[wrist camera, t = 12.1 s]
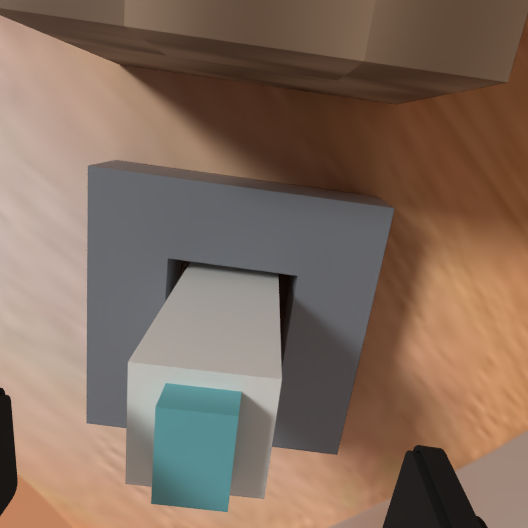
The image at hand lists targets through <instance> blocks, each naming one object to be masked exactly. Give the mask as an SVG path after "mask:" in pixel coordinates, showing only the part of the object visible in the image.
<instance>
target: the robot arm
mask: <svg viewBox="0 0 528 528" xmlns="http://www.w3.org/2000/svg"><path fill="white" fill-rule="evenodd" d="M16 489H17V469H16V456H15V444H14V432H13V420H12V407H11V399H10V397H9V396H8V395H5V391H4V390H3V388H0V516H1V514H2V513H3V511H4V510H5V508H6V507H7V506H8V504H9V503H10V501H11V500H12V498H13V496H14V494H15V492H16ZM383 528H488V527H487V526H486V524H485V523H484V521H483V520H482V519H481V518H480V517H478V516H476V515H475V513H474V511H473V509H472V507H471V504H470V503H469V500H468V498H467V496H466V494H465V492H464V490H463V488H462V486H461V484H460V482H459V480H458V478H457V476H456V474H455V471H454V469H453V467H452V465H451V463H450V461H449V459H448V457H447V455H446V453H445V452H444V450H443V449H441V448H435V447H427V446H420V445H416V446H415V447H414V449H413V451H407V452H406V455H405V457H404V461H403V464H402V467H401V470H400V473H399V477H398V480H397V483H396V486H395V489H394V493H393V496H392V499H391V502H390V505H389V509H388V512H387V515H386V518H385V521H384V525H383Z"/></svg>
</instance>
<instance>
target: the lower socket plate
mask: <svg viewBox="0 0 528 528" xmlns="http://www.w3.org/2000/svg"><path fill="white" fill-rule="evenodd" d="M394 209H395V208H393V207H392V206H390V205H389V204H387V203H386V202H384V201H383V200H381V199H380V198H378V197H377V196H370V195H362V194H355V193H348V192H341V191H334V190H327V189H319V188H312V187H305V186H298V185H291V184H283V183H276V182H269V181H262V180H255V179H248V178H240V177H233V176H226V175H219V174H212V173H205V172H197V171H190V170H183V169H176V168H169V167H162V166H154V165H147V164H140V163H133V162H126V161H119V160H114V161H109V162H104V163H99V164H94V165H89V166H88V258H87V423H90V424H98V425H106V426H113V427H121V428H127V380H128V361H129V359H130V358H131V356H132V355H133V353H134V351H135V350H136V348H137V347H138V345H139V343H140V342H141V340H142V339H143V337H144V335H145V334H146V332H147V331H148V329H149V327H150V326H151V324H152V323H153V321H154V319H155V318H156V316H157V315H158V313H159V311H160V310H161V308H162V307H163V305H164V303H165V302H166V300H167V299H168V297H169V295H170V294H171V292H172V291H173V289H174V287H175V286H176V284H177V283H178V281H179V279H180V270H181V260H184V261H192V262H199V263H207V264H214V265H221V266H229V267H236V268H244V269H251V270H258V271H266V272H273V273H281V274H288V275H291V279H290V285H289V291H288V297H287V303H286V309H285V315H284V321H283V327H282V333H281V368H282V382H281V389H280V395H279V402H278V409H277V416H276V422H275V429H274V436H273V442H272V447H280V448H288V449H296V450H304V451H311V452H319V453H327V454H335V455H337V453H338V449H339V445H340V441H341V436H342V432H343V428H344V423H345V419H346V415H347V410H348V406H349V402H350V398H351V393H352V389H353V385H354V380H355V376H356V372H357V368H358V363H359V359H360V355H361V350H362V346H363V342H364V338H365V333H366V329H367V325H368V320H369V316H370V312H371V308H372V303H373V299H374V295H375V290H376V286H377V282H378V277H379V273H380V269H381V265H382V260H383V256H384V252H385V247H386V243H387V239H388V235H389V230H390V226H391V222H392V217H393V213H394Z"/></svg>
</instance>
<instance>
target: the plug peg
mask: <svg viewBox="0 0 528 528" xmlns="http://www.w3.org/2000/svg"><path fill="white" fill-rule="evenodd" d="M281 382H282V368H281V338H280V308H279V277H278V273H273V272H266V271H258V270H251V269H244V268H236V267H229V266H221V265H214V264H207V263H199V262H192V261H191V262H190V263H189V265H188V267H187V268H186V270H185V271H184V273H183V275H182V276H181V278H180V279H179V281H178V283H177V284H176V286H175V287H174V289H173V291H172V292H171V294H170V295H169V297H168V299H167V300H166V302H165V303H164V305H163V307H162V308H161V310H160V311H159V313H158V315H157V316H156V318H155V319H154V321H153V323H152V324H151V326H150V327H149V329H148V331H147V332H146V334H145V335H144V337H143V339H142V340H141V342H140V343H139V345H138V347H137V348H136V350H135V351H134V353H133V355H132V356H131V358H130V359H129V361H128V380H127V434H126V484H132V485H141V486H150V487H152V498H151V504H158V505H168V506H177V507H186V508H195V509H204V510H214V511H223V512H228V504H229V495H233V496H242V497H251V498H260V499H264V496H265V489H266V483H267V476H268V469H269V462H270V456H271V449H272V442H273V436H274V429H275V422H276V416H277V409H278V402H279V395H280V389H281Z"/></svg>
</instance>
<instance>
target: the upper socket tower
mask: <svg viewBox="0 0 528 528" xmlns="http://www.w3.org/2000/svg"><path fill="white" fill-rule="evenodd" d="M527 14H528V0H0V15H1V16H4V17H6V18H9V19H11V20H13V21H16V22H18V23H21V24H23V25H25V26H28V27H30V28H33V29H35V30H37V31H40V32H42V33H45V34H47V35H49V36H52V37H54V38H57V39H59V40H61V41H64V42H66V43H69V44H71V45H74V46H76V47H78V48H81V49H83V50H86V51H88V52H90V53H93V54H95V55H98V56H100V57H102V58H105V59H107V60H110V61H112V62H114V63H117V64H121V65H128V66H135V67H142V68H149V69H156V70H163V71H170V72H177V73H184V74H191V75H198V76H204V77H211V78H218V79H225V80H232V81H239V82H246V83H253V84H260V85H267V86H274V87H281V88H288V89H295V90H302V91H309V92H315V93H322V94H329V95H336V96H343V97H350V98H357V99H364V100H371V101H378V102H385V103H392V104H400V103H406V102H411V101H416V100H421V99H426V98H431V97H436V96H441V95H446V94H451V93H456V92H461V91H466V90H471V89H476V88H482V87H487V86H492V85H497V84H502V83H507V82H508V80H509V77H510V73H511V70H512V66H513V63H514V59H515V56H516V52H517V49H518V45H519V42H520V39H521V35H522V32H523V28H524V25H525V21H526V18H527Z"/></svg>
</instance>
